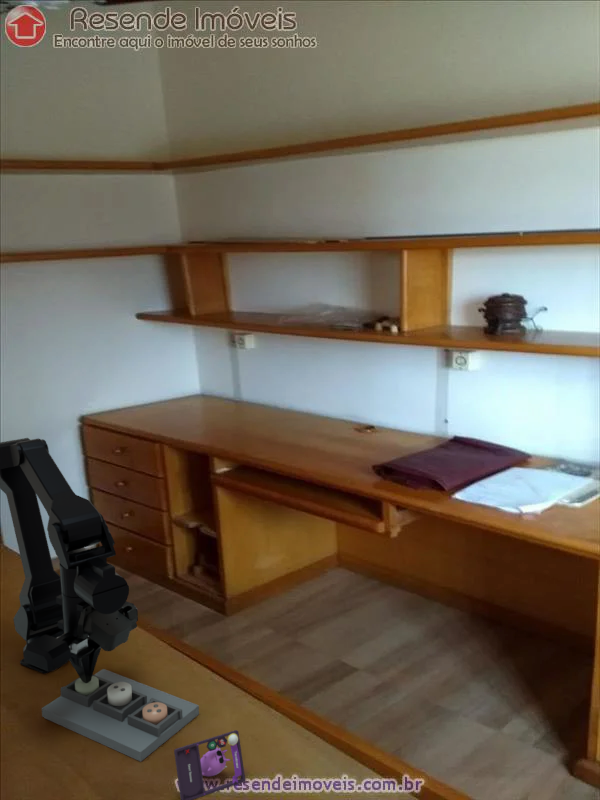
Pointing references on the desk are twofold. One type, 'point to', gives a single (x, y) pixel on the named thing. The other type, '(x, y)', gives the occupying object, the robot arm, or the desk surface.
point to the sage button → (86, 686)
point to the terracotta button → (154, 712)
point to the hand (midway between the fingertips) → (86, 681)
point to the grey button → (119, 694)
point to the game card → (207, 765)
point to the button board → (120, 716)
